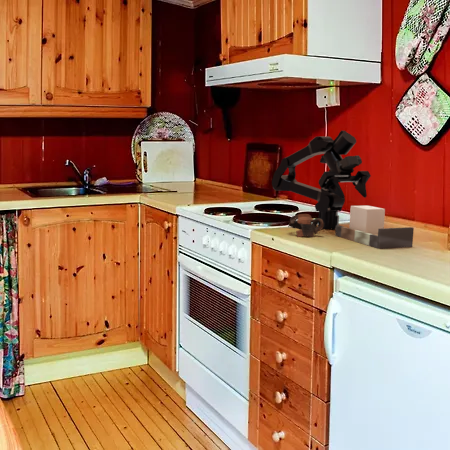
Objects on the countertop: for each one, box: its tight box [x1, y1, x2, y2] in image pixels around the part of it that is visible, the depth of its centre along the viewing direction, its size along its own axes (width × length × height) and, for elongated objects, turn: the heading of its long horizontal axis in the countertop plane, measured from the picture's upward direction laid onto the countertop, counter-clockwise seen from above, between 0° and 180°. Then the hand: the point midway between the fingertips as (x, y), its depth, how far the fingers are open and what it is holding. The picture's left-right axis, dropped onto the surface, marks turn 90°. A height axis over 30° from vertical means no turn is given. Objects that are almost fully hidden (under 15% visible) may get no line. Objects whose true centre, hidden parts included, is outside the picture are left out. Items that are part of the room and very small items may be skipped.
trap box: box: [334, 224, 415, 250], centre depth 202 cm, size 24×12×6 cm, turn 23°
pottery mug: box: [287, 213, 324, 238], centre depth 210 cm, size 12×10×8 cm
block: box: [348, 205, 386, 234], centre depth 205 cm, size 9×7×8 cm
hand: (354, 197), depth 212 cm, fingers open, 9 cm apart
